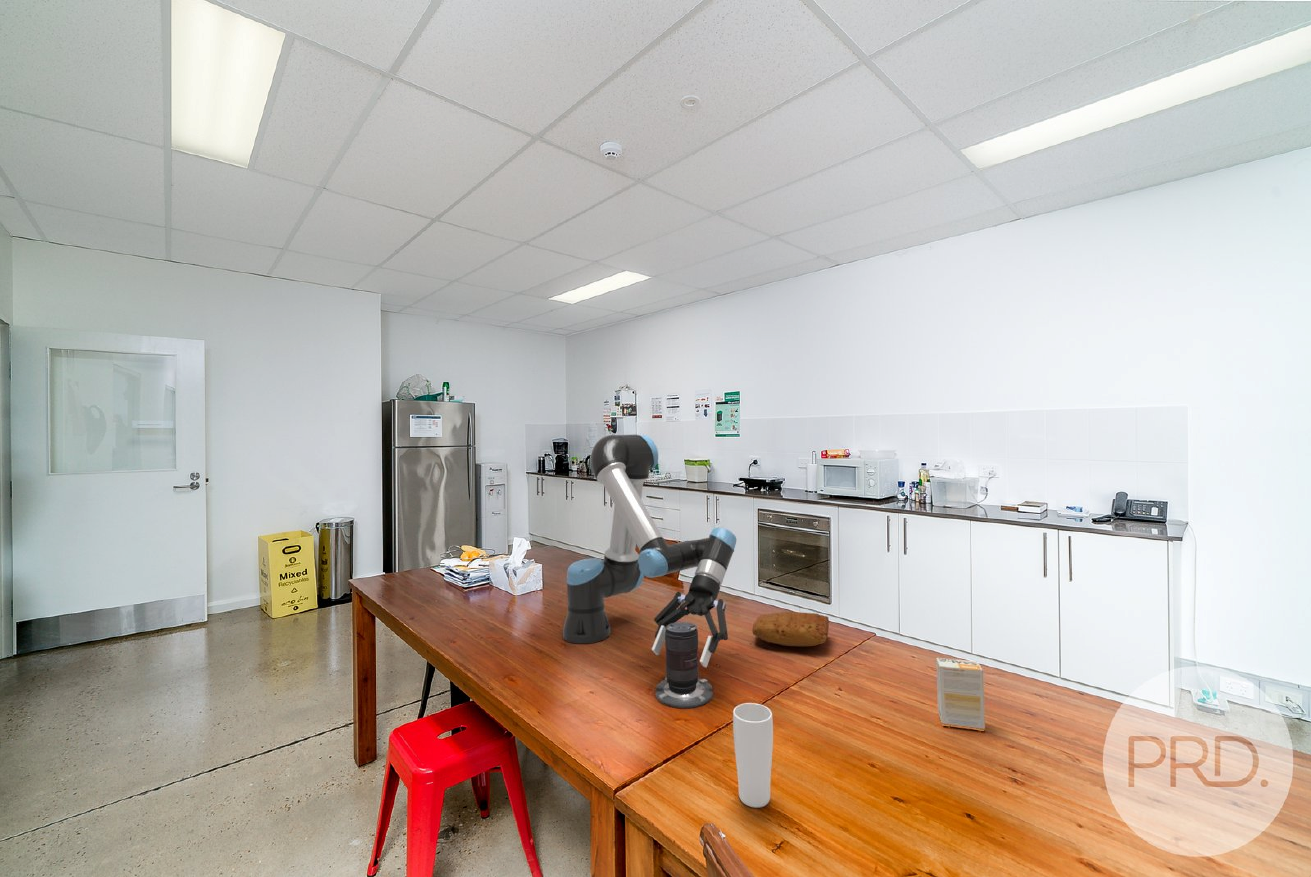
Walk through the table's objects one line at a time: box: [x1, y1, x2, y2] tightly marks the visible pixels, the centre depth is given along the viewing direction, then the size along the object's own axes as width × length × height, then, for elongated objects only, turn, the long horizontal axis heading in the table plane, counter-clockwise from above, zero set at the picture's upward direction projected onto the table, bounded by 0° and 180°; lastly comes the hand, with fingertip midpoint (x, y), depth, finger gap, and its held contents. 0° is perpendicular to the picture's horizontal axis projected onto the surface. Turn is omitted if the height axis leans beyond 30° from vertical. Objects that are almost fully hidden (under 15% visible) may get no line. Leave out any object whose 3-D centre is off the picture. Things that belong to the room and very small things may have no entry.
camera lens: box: [664, 621, 699, 694], centre depth 131 cm, size 8×8×15 cm
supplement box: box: [935, 657, 986, 731], centre depth 114 cm, size 8×5×13 cm, turn 71°
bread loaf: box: [751, 611, 830, 647], centre depth 161 cm, size 22×17×8 cm
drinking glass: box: [732, 702, 774, 809], centre depth 92 cm, size 7×7×15 cm
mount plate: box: [654, 677, 714, 709], centre depth 130 cm, size 14×14×2 cm
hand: (678, 658), depth 128 cm, fingers open, 13 cm apart
